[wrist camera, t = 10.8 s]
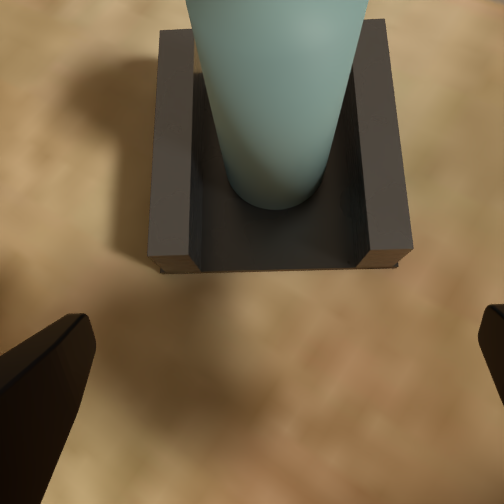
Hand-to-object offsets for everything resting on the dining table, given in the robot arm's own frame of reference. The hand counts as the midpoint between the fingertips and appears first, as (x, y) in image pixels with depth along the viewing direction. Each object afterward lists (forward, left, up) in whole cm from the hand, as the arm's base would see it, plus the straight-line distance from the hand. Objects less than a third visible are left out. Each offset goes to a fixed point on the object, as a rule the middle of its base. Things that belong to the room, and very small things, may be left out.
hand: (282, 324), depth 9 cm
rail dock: (+6, +5, -8) cm, 11 cm away
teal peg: (+6, +5, -7) cm, 11 cm away
